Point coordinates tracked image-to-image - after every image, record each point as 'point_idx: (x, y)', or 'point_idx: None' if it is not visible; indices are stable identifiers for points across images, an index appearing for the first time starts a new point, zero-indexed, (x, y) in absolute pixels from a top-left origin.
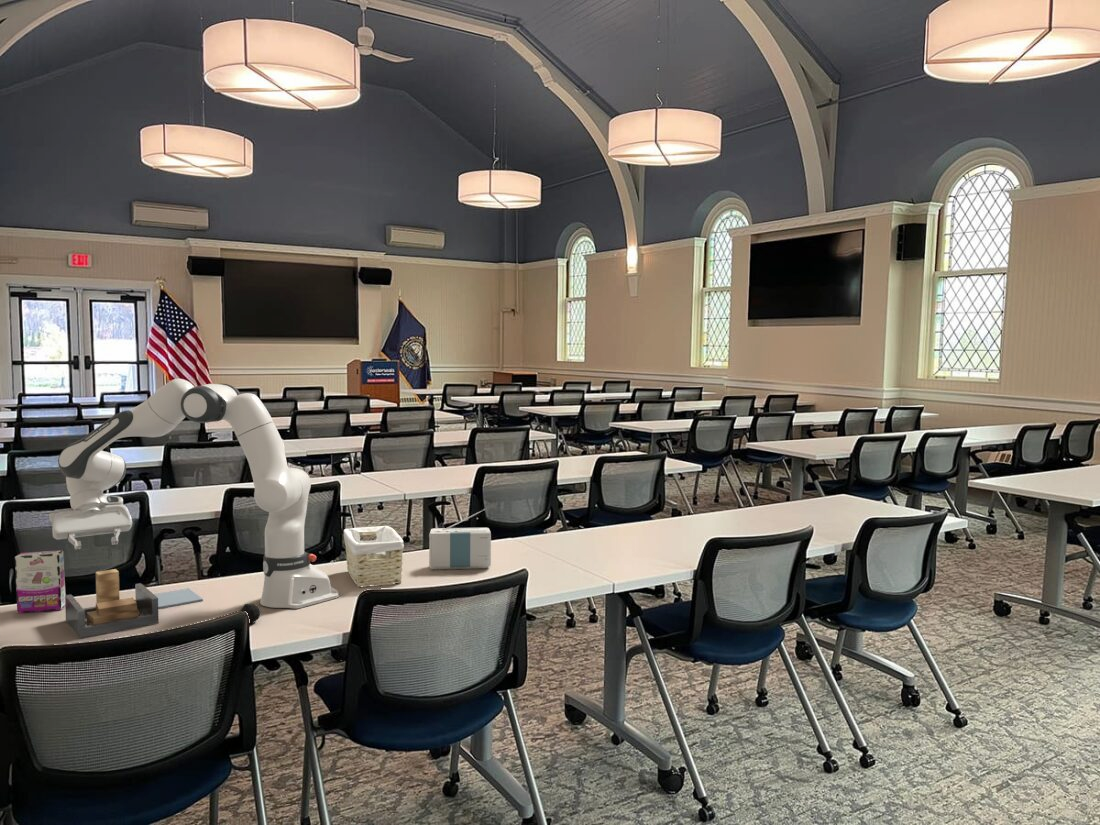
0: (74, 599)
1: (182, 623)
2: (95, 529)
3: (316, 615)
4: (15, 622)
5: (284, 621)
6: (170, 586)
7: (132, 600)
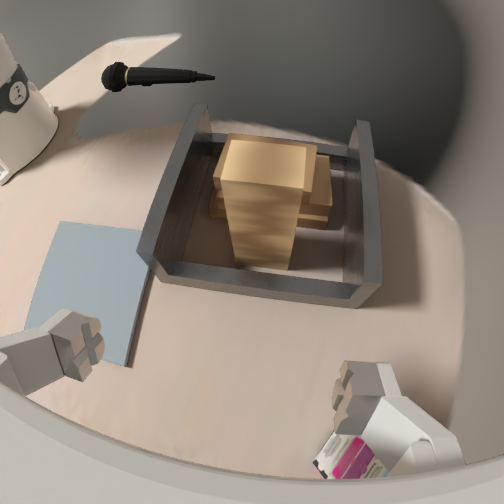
0: (365, 216)
1: (175, 125)
2: (147, 451)
3: (67, 82)
4: (447, 379)
5: (98, 78)
6: None
7: (226, 154)
